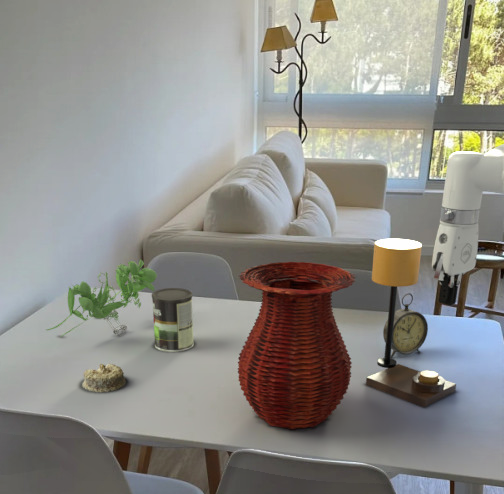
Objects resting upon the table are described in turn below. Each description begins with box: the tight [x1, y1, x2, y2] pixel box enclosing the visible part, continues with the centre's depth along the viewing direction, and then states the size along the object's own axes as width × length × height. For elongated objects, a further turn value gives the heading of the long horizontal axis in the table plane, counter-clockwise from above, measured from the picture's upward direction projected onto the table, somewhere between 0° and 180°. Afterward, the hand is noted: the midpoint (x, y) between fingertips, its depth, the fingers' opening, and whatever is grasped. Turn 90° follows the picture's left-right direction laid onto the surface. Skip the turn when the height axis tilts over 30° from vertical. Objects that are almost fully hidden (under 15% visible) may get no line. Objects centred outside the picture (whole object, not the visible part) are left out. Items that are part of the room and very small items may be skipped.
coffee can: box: [151, 287, 194, 353], centre depth 182 cm, size 10×10×14 cm
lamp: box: [371, 238, 423, 369], centre depth 157 cm, size 10×10×28 cm
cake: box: [81, 363, 127, 393], centre depth 161 cm, size 10×10×5 cm
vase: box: [237, 261, 356, 430], centre depth 142 cm, size 23×24×30 cm
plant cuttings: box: [45, 259, 158, 337], centre depth 191 cm, size 35×17×22 cm
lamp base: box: [365, 363, 457, 409], centre depth 160 cm, size 16×12×4 cm
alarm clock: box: [382, 292, 429, 359], centre depth 176 cm, size 11×5×16 cm, turn 114°
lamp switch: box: [419, 370, 440, 384], centre depth 156 cm, size 4×4×2 cm
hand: (446, 303), depth 151 cm, fingers closed
